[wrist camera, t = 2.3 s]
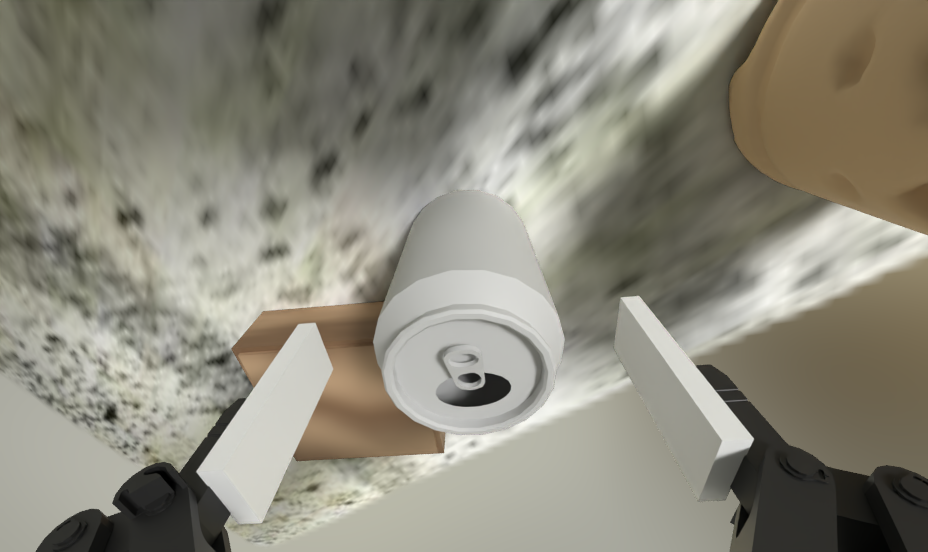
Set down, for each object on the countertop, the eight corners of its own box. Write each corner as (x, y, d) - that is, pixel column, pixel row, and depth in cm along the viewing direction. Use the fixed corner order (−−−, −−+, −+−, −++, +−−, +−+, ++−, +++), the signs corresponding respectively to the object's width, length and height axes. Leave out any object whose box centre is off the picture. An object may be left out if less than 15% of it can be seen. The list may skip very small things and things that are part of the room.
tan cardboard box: (263, 311, 26) (228, 351, 22) (424, 298, 25) (417, 337, 21) (315, 418, 32) (295, 464, 28) (446, 410, 31) (443, 455, 27)
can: (425, 298, 25) (395, 459, 14) (396, 196, 21) (328, 316, 11) (530, 282, 24) (578, 440, 14) (520, 175, 20) (574, 280, 10)
